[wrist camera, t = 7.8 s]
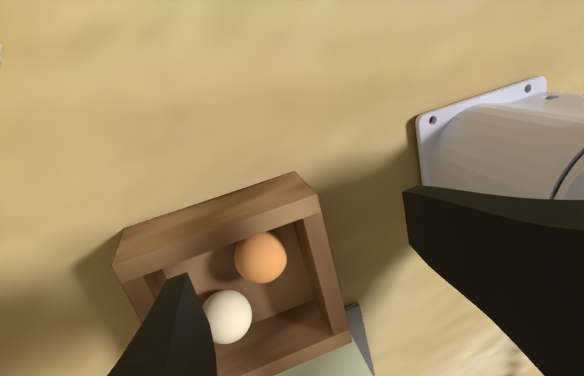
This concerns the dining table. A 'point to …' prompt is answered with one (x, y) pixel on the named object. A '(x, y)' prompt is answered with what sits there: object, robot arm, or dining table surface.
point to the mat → (359, 332)
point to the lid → (333, 364)
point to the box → (224, 276)
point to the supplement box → (0, 49)
